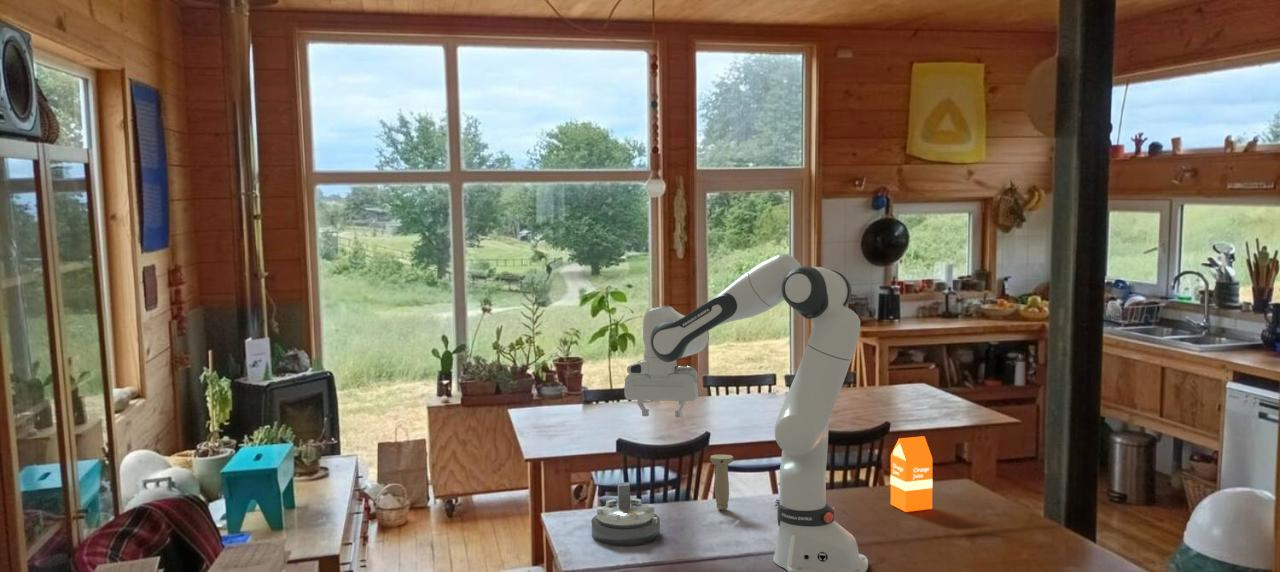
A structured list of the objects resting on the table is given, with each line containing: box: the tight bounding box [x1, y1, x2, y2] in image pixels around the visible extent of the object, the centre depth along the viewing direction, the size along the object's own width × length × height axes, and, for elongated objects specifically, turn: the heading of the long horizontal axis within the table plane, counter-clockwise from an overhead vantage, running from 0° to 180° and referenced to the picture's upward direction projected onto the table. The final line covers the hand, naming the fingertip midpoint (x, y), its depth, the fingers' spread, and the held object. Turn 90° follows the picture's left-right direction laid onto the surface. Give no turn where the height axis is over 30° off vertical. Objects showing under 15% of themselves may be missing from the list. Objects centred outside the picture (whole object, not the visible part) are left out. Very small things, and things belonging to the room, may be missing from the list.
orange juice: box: [890, 435, 933, 513], centre depth 259 cm, size 8×9×20 cm
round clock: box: [596, 481, 655, 528], centre depth 239 cm, size 15×15×8 cm
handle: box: [709, 454, 734, 510], centre depth 260 cm, size 5×6×15 cm
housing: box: [591, 513, 661, 548], centre depth 240 cm, size 18×18×6 cm
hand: (662, 416), depth 247 cm, fingers open, 8 cm apart
